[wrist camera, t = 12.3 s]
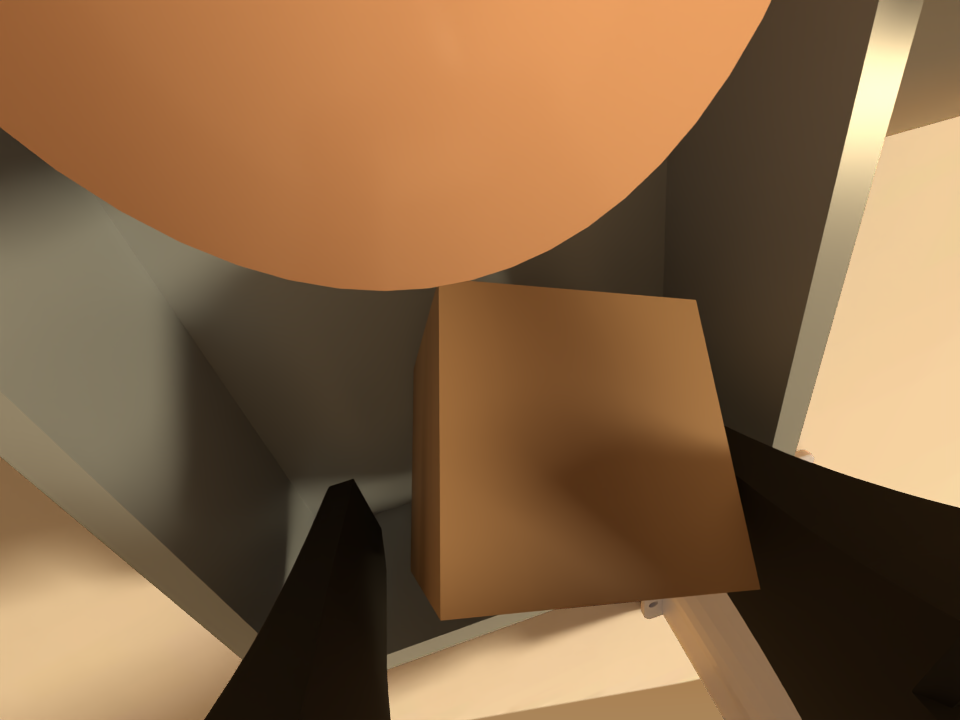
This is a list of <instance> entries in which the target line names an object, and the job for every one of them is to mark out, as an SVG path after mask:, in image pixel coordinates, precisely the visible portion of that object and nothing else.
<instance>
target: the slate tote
mask: <svg viewBox="0 0 960 720" xmlns="http://www.w3.org/2000/svg"><path fill="white" fill-rule="evenodd" d="M923 2H924V0H771V2H770V4H769V6H768V8H767V10H766V12H765V15H764V17H763V19H762V21H761V22H760V24H759V26H758V27H757V29H756V31H755V33H754V34H753V36H752V38H751V39H750V41H749V43H748V45H747V46H746V48H745V50H744V51H743V53H742V55H741V56H740V58H739V60H738V62H737V63H736V65H735V67H734V68H733V70H732V72H731V74H730V75H729V77H728V78H727V80H726V81H725V82H724V84H723V85H722V87H721V88H720V90H719V91H718V92H717V94H716V95H715V97H714V98H713V99H712V101H711V102H710V104H709V105H708V106H707V108H706V109H705V111H704V112H703V114H702V115H701V116H700V118H699V119H698V121H697V122H696V123H695V125H694V126H693V127H692V128H691V129H690V130H689V132H688V133H687V134H686V135H685V136H684V137H683V139H682V140H681V141H680V142H679V143H678V145H677V146H676V147H675V148H674V149H673V150H672V152H671V153H670V154H669V155H668V156H667V157H666V159H665V160H664V161H663V162H662V163H661V164H660V165H659V166H658V167H657V168H656V169H655V170H654V171H653V172H652V173H651V174H650V175H649V176H648V177H647V178H646V179H645V180H644V181H643V182H642V183H640V184H639V185H638V186H637V187H636V188H635V189H634V190H633V191H632V192H631V193H630V194H629V195H628V196H627V197H626V198H625V199H623V200H622V201H621V202H620V203H618V204H617V205H616V206H614V207H613V208H612V209H611V210H609V211H608V212H607V213H605V214H604V215H603V216H601V217H600V218H599V219H598V220H596V221H595V222H594V223H592V224H591V225H590V226H589V227H587V228H585V229H584V230H582V231H580V232H579V233H577V234H575V235H574V236H572V237H570V238H569V239H567V240H566V241H564V242H562V243H561V244H559V245H557V246H556V247H554V248H552V249H551V250H549V251H546V252H544V253H542V254H540V255H538V256H535V257H533V258H531V259H529V260H527V261H524V262H522V263H520V264H518V265H516V266H514V267H511V268H508V269H505V270H502V271H499V272H496V273H492V274H489V275H486V276H483V277H480V278H477V279H474V280H470V281H477V282H489V283H501V284H513V285H525V286H536V287H548V288H560V289H572V290H584V291H596V292H608V293H620V294H631V295H643V296H655V297H667V298H679V299H691V300H696V302H697V307H698V311H699V316H700V320H701V325H702V329H703V334H704V338H705V343H706V347H707V352H708V356H709V361H710V365H711V369H712V374H713V378H714V383H715V387H716V392H717V396H718V401H719V405H720V410H721V414H722V419H723V423H724V425H725V426H727V427H729V428H731V429H733V430H735V431H737V432H739V433H741V434H744V435H746V436H748V437H750V438H752V439H755V440H757V441H759V442H762V443H764V444H766V445H769V446H771V447H773V448H775V449H778V450H780V451H783V452H785V453H788V454H790V455H793V456H795V453H796V449H797V445H798V442H799V438H800V435H801V431H802V428H803V424H804V421H805V417H806V414H807V410H808V407H809V403H810V400H811V396H812V393H813V389H814V386H815V382H816V379H817V375H818V372H819V368H820V365H821V361H822V358H823V354H824V350H825V347H826V343H827V340H828V336H829V333H830V329H831V326H832V322H833V319H834V315H835V312H836V308H837V305H838V301H839V298H840V294H841V291H842V287H843V284H844V280H845V277H846V273H847V270H848V266H849V262H850V259H851V255H852V252H853V248H854V245H855V241H856V238H857V234H858V231H859V227H860V224H861V220H862V217H863V213H864V210H865V206H866V203H867V199H868V196H869V192H870V189H871V185H872V182H873V178H874V174H875V171H876V167H877V164H878V160H879V157H880V153H881V150H882V146H883V143H884V139H885V136H886V132H887V129H888V125H889V122H890V118H891V115H892V111H893V108H894V104H895V101H896V97H897V94H898V90H899V87H900V83H901V79H902V76H903V72H904V69H905V65H906V62H907V58H908V55H909V51H910V48H911V44H912V41H913V37H914V34H915V30H916V27H917V23H918V20H919V16H920V13H921V9H922V6H923ZM435 290H436V287H433V288H425V289H409V290H393V291H375V290H357V289H339V288H333V287H327V286H321V285H315V284H309V283H303V282H298V281H292V280H287V279H284V278H280V277H277V276H273V275H270V274H266V273H263V272H259V271H256V270H252V269H249V268H245V267H242V266H238V265H235V264H233V263H230V262H228V261H226V260H223V259H221V258H218V257H216V256H213V255H211V254H208V253H206V252H203V251H201V250H198V249H196V248H193V247H191V246H188V245H186V244H183V243H181V242H179V241H177V240H175V239H173V238H171V237H169V236H167V235H165V234H163V233H162V232H160V231H158V230H156V229H154V228H152V227H150V226H148V225H146V224H144V223H142V222H140V221H138V220H136V219H135V218H133V217H131V216H129V215H127V214H125V213H123V212H121V211H119V210H118V209H116V208H115V207H113V206H112V205H110V204H108V203H107V202H105V201H104V200H102V199H101V198H99V197H98V196H96V195H94V194H93V193H91V192H90V191H88V190H87V189H85V188H83V187H82V186H80V185H79V184H77V183H76V182H74V181H72V180H71V179H69V178H68V177H66V176H65V175H63V174H62V173H60V172H58V171H57V170H55V169H54V168H53V167H51V166H50V165H49V164H47V163H46V162H45V161H44V160H42V159H41V158H40V157H38V156H37V155H36V154H34V153H33V152H32V151H30V150H29V149H28V148H27V147H25V146H24V145H23V144H21V143H20V142H19V141H17V140H16V139H15V138H13V137H12V136H11V135H10V134H8V133H7V132H6V131H4V130H3V129H2V128H0V457H1V458H2V459H4V460H5V461H6V462H7V463H8V464H10V465H11V466H12V467H13V468H14V469H16V470H17V471H18V472H19V473H20V474H22V475H23V476H24V477H25V478H26V479H28V480H29V481H30V482H31V483H32V484H33V485H35V486H36V487H37V488H38V489H39V490H41V491H42V492H43V493H44V494H45V495H47V496H48V497H49V498H50V499H51V500H53V501H54V502H55V503H56V504H57V505H59V506H60V507H61V508H62V509H63V510H65V511H66V512H67V513H68V514H69V515H70V516H72V517H73V518H74V519H75V520H76V521H78V522H79V523H80V524H81V525H82V526H84V527H85V528H86V529H87V530H88V531H90V532H91V533H92V534H93V535H94V536H96V537H97V538H98V539H99V540H100V541H101V542H103V543H104V544H105V545H106V546H107V547H109V548H110V549H111V550H112V551H113V552H115V553H116V554H117V555H118V556H119V557H121V558H122V559H123V560H124V561H125V562H127V563H128V564H129V565H130V566H131V567H133V568H134V569H135V570H136V571H137V572H138V573H140V574H141V575H142V576H143V577H144V578H146V579H147V580H148V581H149V582H150V583H152V584H153V585H154V586H155V587H156V588H158V589H159V590H160V591H161V592H162V593H164V594H165V595H166V596H167V597H168V598H170V599H171V600H172V601H173V602H174V603H175V604H177V605H178V606H179V607H180V608H181V609H183V610H184V611H185V612H186V613H187V614H189V615H190V616H191V617H192V618H193V619H195V620H196V621H197V622H198V623H199V624H201V625H202V626H203V627H204V628H205V629H206V630H208V631H209V632H210V633H211V634H212V635H214V636H215V637H216V638H217V639H218V640H220V641H221V642H222V643H223V644H224V645H226V646H227V647H228V648H229V649H230V650H232V651H233V652H234V653H235V654H236V655H238V656H239V657H240V658H241V659H242V660H243V658H244V657H245V655H246V653H247V652H248V650H249V648H250V647H251V645H252V643H253V641H254V640H255V638H256V636H257V634H258V633H259V631H260V629H261V627H262V626H263V624H264V622H265V620H266V618H267V616H268V614H269V613H270V611H271V609H272V607H273V605H274V603H275V601H276V599H277V597H278V595H279V593H280V592H281V590H282V588H283V586H284V584H285V582H286V580H287V578H288V576H289V574H290V572H291V570H292V567H293V565H294V563H295V561H296V559H297V557H298V555H299V553H300V550H301V548H302V546H303V544H304V542H305V540H306V537H307V535H308V533H309V531H310V528H311V526H312V524H313V521H314V519H315V517H316V515H317V512H318V510H319V508H320V505H321V503H322V500H323V498H324V496H325V494H326V491H327V489H328V488H329V486H332V485H335V484H338V483H341V482H344V481H347V480H351V479H354V480H355V482H356V484H357V486H358V487H359V489H360V491H361V493H362V494H363V496H364V498H365V500H366V502H367V503H368V505H369V507H370V509H371V511H372V512H373V514H374V516H375V518H376V520H377V521H378V523H379V525H380V527H381V528H382V536H383V544H384V551H385V560H386V571H387V670H388V669H391V668H394V667H397V666H399V665H402V664H405V663H408V662H410V661H413V660H416V659H419V658H421V657H424V656H427V655H430V654H432V653H435V652H438V651H441V650H444V649H446V648H449V647H452V646H455V645H457V644H460V643H463V642H466V641H468V640H471V639H474V638H477V637H480V636H482V635H485V634H488V633H491V632H493V631H496V630H499V629H502V628H504V627H507V626H510V625H513V624H516V623H518V622H521V621H524V620H527V619H529V618H532V617H535V616H538V615H540V614H543V613H546V612H549V611H552V610H544V611H534V612H524V613H513V614H503V615H493V616H483V617H472V618H462V619H452V620H442V621H440V619H439V617H438V616H437V614H436V612H435V611H434V609H433V607H432V606H431V604H430V602H429V601H428V599H427V597H426V596H425V594H424V592H423V591H422V589H421V587H420V586H419V584H418V582H417V581H416V579H415V577H414V576H413V574H412V573H411V507H412V441H413V376H414V366H415V363H416V359H417V355H418V352H419V348H420V344H421V341H422V337H423V334H424V330H425V326H426V323H427V319H428V315H429V312H430V308H431V305H432V301H433V297H434V294H435Z"/></svg>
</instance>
